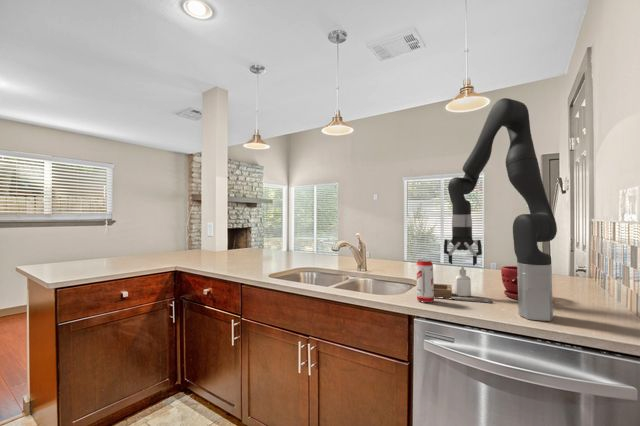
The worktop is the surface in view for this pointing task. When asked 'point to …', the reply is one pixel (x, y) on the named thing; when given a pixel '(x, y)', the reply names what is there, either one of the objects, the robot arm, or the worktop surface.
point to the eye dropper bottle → (463, 284)
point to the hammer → (446, 292)
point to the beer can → (425, 280)
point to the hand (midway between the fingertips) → (462, 264)
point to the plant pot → (510, 281)
